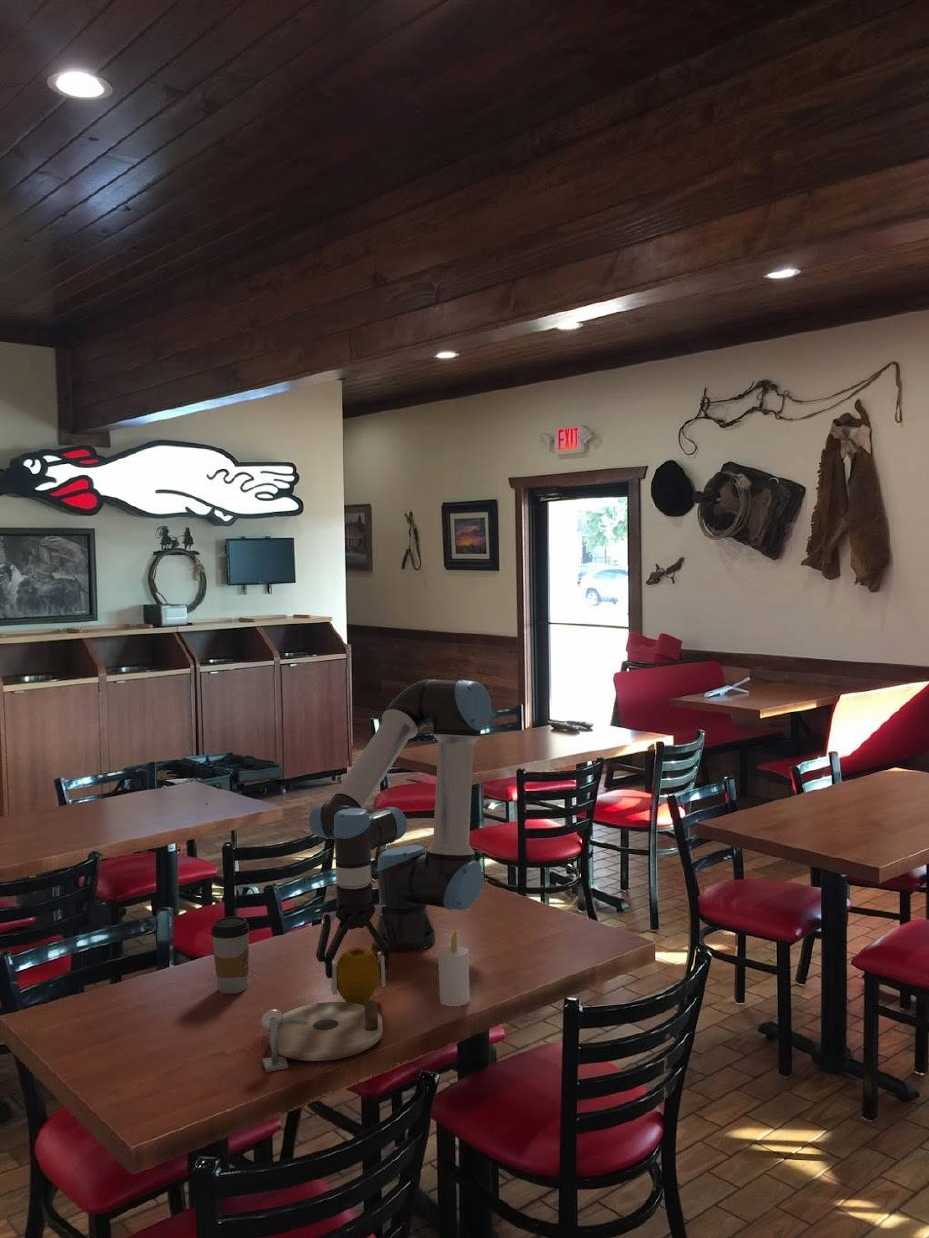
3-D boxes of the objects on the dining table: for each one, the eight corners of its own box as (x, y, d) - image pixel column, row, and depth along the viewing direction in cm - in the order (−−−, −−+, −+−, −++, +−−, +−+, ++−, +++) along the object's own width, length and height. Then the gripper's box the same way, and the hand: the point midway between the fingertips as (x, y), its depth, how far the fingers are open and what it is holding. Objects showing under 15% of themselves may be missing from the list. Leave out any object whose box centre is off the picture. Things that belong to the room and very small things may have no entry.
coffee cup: (243, 997, 229) (240, 928, 228) (207, 995, 231) (204, 927, 230) (258, 982, 237) (255, 916, 236) (223, 980, 239) (220, 915, 238)
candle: (447, 992, 227) (445, 923, 227) (474, 997, 225) (472, 927, 224) (433, 1003, 222) (431, 933, 221) (461, 1008, 219) (459, 937, 218)
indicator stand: (284, 1058, 199) (282, 1006, 198) (287, 1068, 195) (285, 1014, 194) (262, 1062, 197) (260, 1010, 197) (266, 1072, 194) (263, 1018, 193)
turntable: (397, 1015, 214) (396, 981, 214) (359, 1065, 193) (358, 1027, 192) (296, 1007, 220) (295, 974, 219) (249, 1055, 198) (247, 1018, 198)
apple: (386, 1008, 220) (384, 952, 220) (340, 1015, 218) (337, 959, 217) (376, 991, 230) (374, 937, 229) (332, 997, 227) (330, 943, 226)
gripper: (400, 872, 230) (404, 973, 231) (298, 885, 222) (302, 990, 223) (410, 881, 223) (413, 986, 224) (304, 895, 215) (309, 1003, 216)
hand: (358, 988), depth 223 cm, fingers closed on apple, 10 cm apart
